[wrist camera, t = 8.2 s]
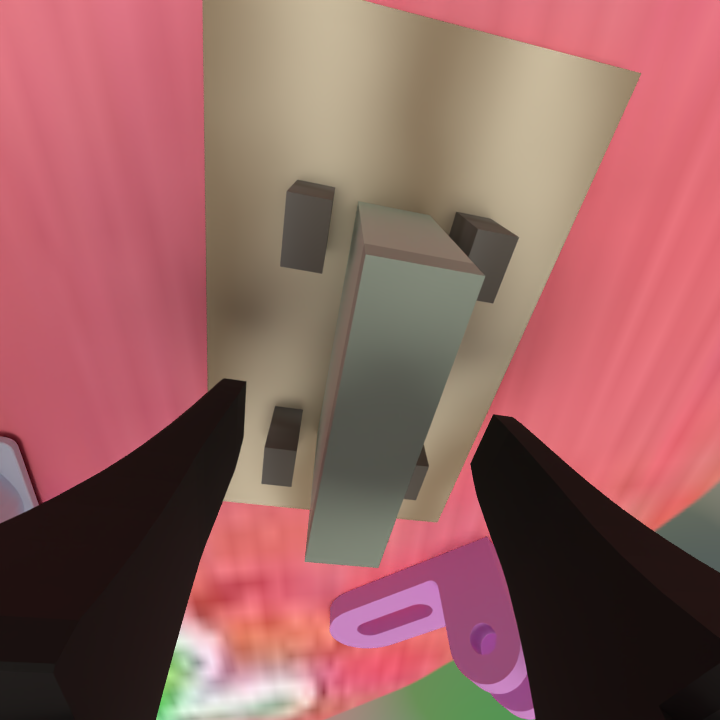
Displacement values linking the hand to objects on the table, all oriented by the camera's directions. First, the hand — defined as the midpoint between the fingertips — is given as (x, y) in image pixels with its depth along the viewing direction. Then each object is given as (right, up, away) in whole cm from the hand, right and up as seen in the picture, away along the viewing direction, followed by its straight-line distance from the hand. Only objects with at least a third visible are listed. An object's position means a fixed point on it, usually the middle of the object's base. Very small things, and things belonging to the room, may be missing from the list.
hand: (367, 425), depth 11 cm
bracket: (+4, -14, +15) cm, 21 cm away
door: (0, +3, +4) cm, 5 cm away
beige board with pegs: (0, +3, +5) cm, 6 cm away
